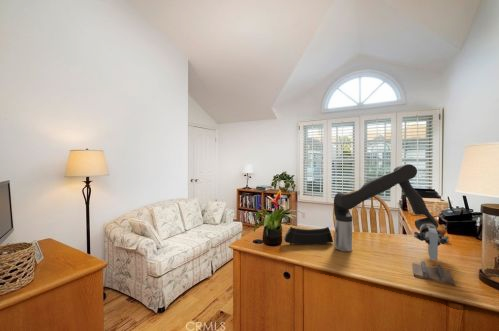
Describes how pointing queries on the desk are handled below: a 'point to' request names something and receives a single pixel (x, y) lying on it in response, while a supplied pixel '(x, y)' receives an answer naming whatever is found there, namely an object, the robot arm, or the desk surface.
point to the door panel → (433, 244)
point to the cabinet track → (433, 273)
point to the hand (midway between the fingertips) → (433, 242)
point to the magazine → (308, 236)
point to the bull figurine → (441, 232)
